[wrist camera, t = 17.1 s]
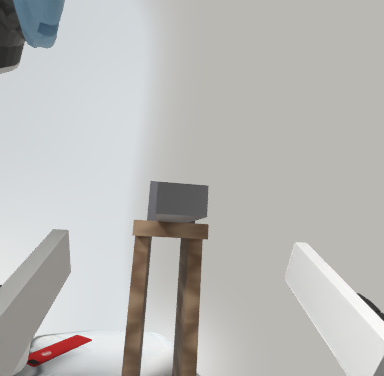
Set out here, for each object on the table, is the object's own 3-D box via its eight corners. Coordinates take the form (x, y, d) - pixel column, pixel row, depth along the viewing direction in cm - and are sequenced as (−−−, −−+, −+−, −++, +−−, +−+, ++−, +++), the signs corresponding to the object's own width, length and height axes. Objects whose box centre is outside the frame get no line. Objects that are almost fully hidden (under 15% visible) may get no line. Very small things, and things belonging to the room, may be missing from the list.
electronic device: (76, 336, 65) (17, 361, 51) (77, 334, 65) (17, 358, 52) (92, 341, 62) (33, 369, 49) (92, 339, 62) (34, 365, 49)
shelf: (106, 498, 26) (134, 219, 31) (128, 383, 45) (143, 224, 51) (197, 490, 27) (208, 224, 33) (181, 382, 47) (189, 227, 52)
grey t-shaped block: (135, 212, 18) (143, 137, 19) (149, 223, 43) (152, 190, 44) (225, 218, 19) (227, 146, 20) (188, 225, 43) (190, 193, 45)
